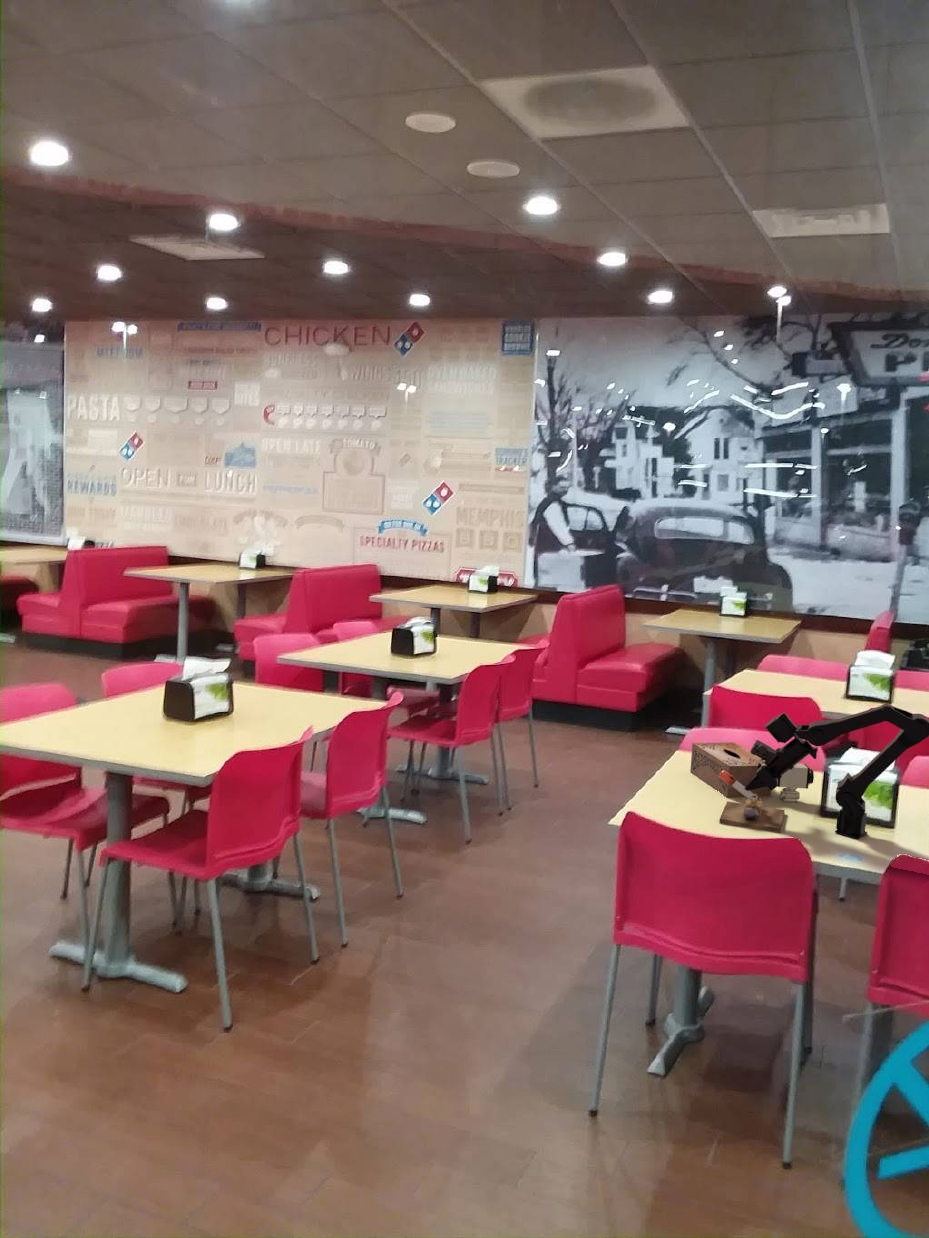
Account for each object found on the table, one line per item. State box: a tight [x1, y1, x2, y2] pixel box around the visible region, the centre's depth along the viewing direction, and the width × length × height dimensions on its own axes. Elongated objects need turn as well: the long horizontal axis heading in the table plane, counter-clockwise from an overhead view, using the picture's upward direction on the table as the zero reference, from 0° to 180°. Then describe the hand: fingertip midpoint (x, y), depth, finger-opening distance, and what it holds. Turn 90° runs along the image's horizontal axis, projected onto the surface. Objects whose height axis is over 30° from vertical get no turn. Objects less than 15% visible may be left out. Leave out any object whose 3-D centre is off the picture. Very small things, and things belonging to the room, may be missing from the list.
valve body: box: [743, 794, 763, 821], centre depth 287 cm, size 4×12×6 cm, turn 159°
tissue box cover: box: [689, 741, 773, 799], centre depth 318 cm, size 26×14×10 cm, turn 12°
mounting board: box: [718, 801, 785, 833], centre depth 287 cm, size 16×17×1 cm
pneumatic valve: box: [776, 762, 815, 803], centre depth 304 cm, size 6×12×12 cm, turn 87°
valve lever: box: [718, 770, 758, 801], centre depth 288 cm, size 3×3×12 cm
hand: (746, 789), depth 287 cm, fingers closed, pressing on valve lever
